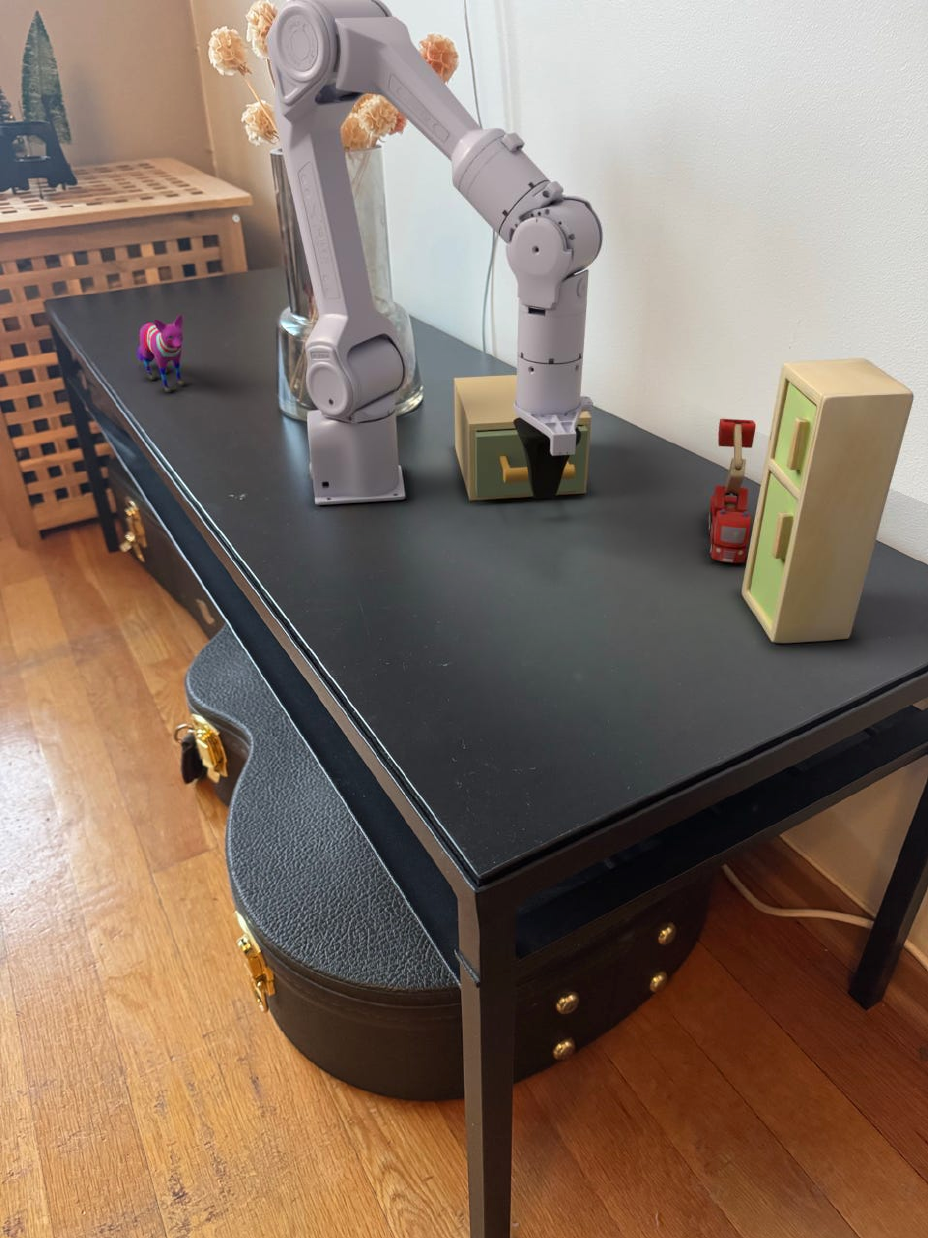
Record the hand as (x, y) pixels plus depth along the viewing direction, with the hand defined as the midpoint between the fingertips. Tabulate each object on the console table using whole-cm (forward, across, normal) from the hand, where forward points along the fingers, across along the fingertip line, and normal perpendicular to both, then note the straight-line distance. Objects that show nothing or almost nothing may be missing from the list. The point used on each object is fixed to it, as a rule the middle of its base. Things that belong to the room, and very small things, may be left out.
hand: (543, 494), depth 86 cm
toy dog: (+5, +51, +44) cm, 68 cm away
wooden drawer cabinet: (+5, +16, 0) cm, 17 cm away
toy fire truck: (+5, -1, -18) cm, 19 cm away
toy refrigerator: (+5, -16, -18) cm, 25 cm away
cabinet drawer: (+4, +12, 0) cm, 12 cm away
